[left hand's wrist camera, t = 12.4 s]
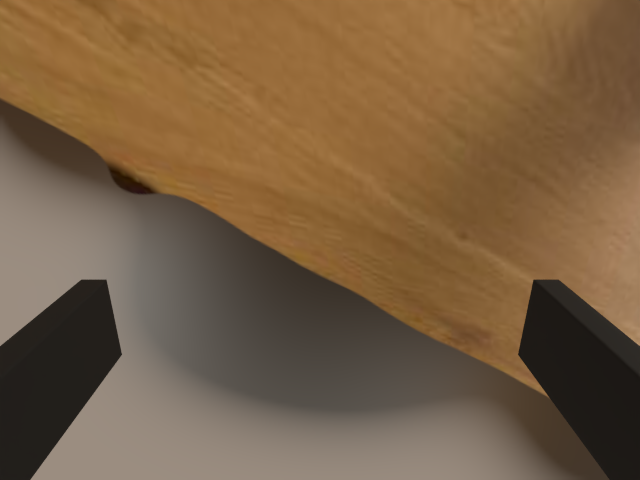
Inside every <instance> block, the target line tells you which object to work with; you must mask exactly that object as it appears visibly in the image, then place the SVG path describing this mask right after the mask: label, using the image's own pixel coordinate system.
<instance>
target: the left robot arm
mask: <svg viewBox="0 0 640 480" xmlns="http://www.w3.org/2000/svg"><path fill="white" fill-rule="evenodd" d="M121 355H122V353H121V348H120V343H119V339H118V334H117V329H116V324H115V319H114V314H113V309H112V305H111V300H110V295H109V290H108V285H107V281H106V280H81V281H79V282H78V283H77V284H76V285H74V286H73V287H72V288H71V289H70V290H68V291H67V292H66V293H65V294H63V295H62V296H61V297H60V298H59V299H57V300H56V301H55V302H54V303H52V304H51V305H50V306H49V307H48V308H46V309H45V310H44V311H43V312H42V313H40V314H39V315H38V316H37V317H35V318H34V319H33V320H32V321H31V322H29V323H28V324H27V325H26V326H24V327H23V328H22V329H21V330H20V331H18V332H17V333H16V334H15V335H13V336H12V337H11V338H10V339H9V340H7V341H6V342H5V343H4V344H2V345H1V346H0V480H30V479H31V478H32V477H33V475H34V474H35V473H36V471H37V470H38V468H39V467H40V466H41V464H42V463H43V462H44V460H45V459H46V458H47V456H48V455H49V453H50V452H51V451H52V449H53V448H54V447H55V445H56V444H57V442H58V441H59V440H60V438H61V437H62V436H63V434H64V433H65V432H66V430H67V429H68V427H69V426H70V425H71V423H72V422H73V421H74V419H75V418H76V416H77V415H78V414H79V412H80V411H81V410H82V408H83V407H84V406H85V404H86V403H87V402H88V400H89V399H90V397H91V396H92V395H93V393H94V392H95V391H96V389H97V388H98V386H99V385H100V384H101V382H102V381H103V380H104V378H105V377H106V375H107V374H108V373H109V371H110V370H111V369H112V367H113V366H114V365H115V363H116V362H117V361H118V359H119V358H120V356H121ZM518 355H519V356H520V358H521V359H522V361H523V362H524V363H525V365H526V366H527V367H528V369H529V370H530V371H531V373H532V374H533V376H534V377H535V378H536V380H537V381H538V382H539V384H540V385H541V387H542V388H543V389H544V391H545V392H546V393H547V395H548V396H549V397H550V399H551V400H552V402H553V403H554V404H555V406H556V407H557V408H558V410H559V411H560V412H561V414H562V415H563V417H564V418H565V419H566V421H567V422H568V423H569V425H570V426H571V427H572V429H573V430H574V431H575V433H576V434H577V436H578V437H579V438H580V440H581V441H582V442H583V444H584V445H585V447H586V448H587V449H588V451H589V452H590V453H591V455H592V456H593V457H594V459H595V460H596V462H597V463H598V464H599V466H600V467H601V468H602V470H603V471H604V473H605V474H606V475H607V477H608V478H609V479H610V480H640V346H639V345H638V344H636V343H635V342H634V341H633V340H631V339H630V338H629V337H628V336H627V335H625V334H624V333H623V332H622V331H620V330H619V329H618V328H617V327H616V326H614V325H613V324H612V323H611V322H609V321H608V320H607V319H606V318H605V317H603V316H602V315H601V314H600V313H599V312H597V311H596V310H595V309H594V308H592V307H591V306H590V305H589V304H588V303H586V302H585V301H584V300H583V299H581V298H580V297H579V296H578V295H577V294H575V293H574V292H573V291H572V290H570V289H569V288H568V287H567V286H566V285H564V284H563V283H562V282H561V281H559V280H533V285H532V290H531V295H530V300H529V305H528V309H527V314H526V319H525V324H524V329H523V334H522V338H521V343H520V348H519V353H518Z"/></svg>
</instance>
